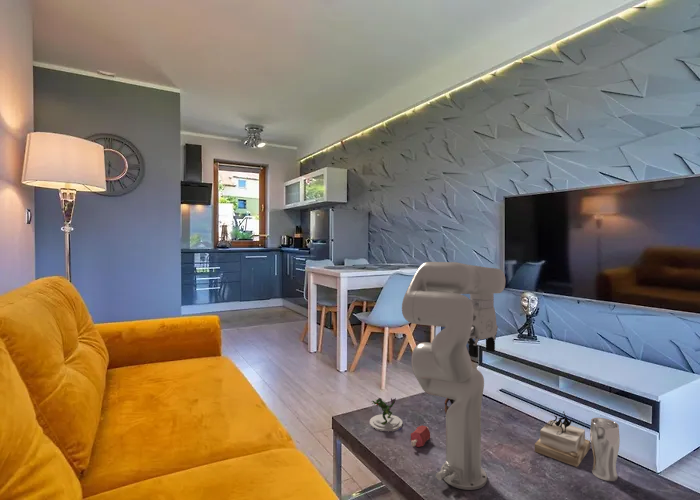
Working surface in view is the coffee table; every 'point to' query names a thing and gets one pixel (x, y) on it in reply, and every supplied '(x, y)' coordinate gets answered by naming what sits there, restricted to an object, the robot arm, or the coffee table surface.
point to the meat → (420, 436)
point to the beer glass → (604, 448)
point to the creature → (566, 424)
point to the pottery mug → (446, 403)
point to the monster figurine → (385, 417)
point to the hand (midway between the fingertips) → (482, 353)
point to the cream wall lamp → (563, 443)
